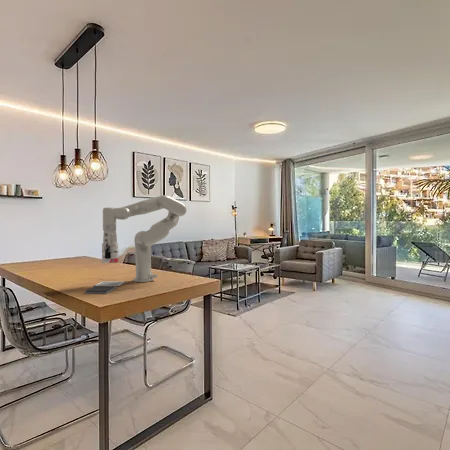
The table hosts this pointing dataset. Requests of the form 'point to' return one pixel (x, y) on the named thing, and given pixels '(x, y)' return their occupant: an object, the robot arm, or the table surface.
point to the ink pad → (100, 290)
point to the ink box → (113, 254)
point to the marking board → (110, 283)
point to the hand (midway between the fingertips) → (109, 257)
